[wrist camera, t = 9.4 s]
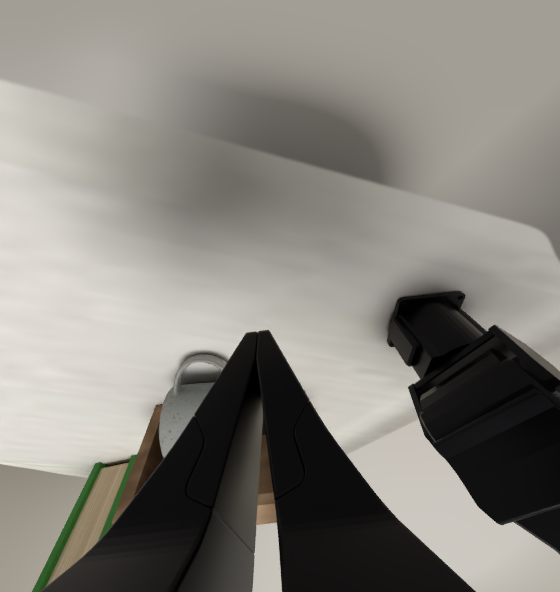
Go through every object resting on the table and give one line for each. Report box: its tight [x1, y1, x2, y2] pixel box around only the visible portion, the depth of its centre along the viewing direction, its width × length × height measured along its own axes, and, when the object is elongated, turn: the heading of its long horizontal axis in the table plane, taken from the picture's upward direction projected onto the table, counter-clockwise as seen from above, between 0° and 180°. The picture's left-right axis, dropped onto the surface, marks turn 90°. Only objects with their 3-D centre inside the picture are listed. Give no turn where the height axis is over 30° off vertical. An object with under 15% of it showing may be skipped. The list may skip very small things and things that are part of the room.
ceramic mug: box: [159, 354, 226, 457], centre depth 25 cm, size 11×8×8 cm
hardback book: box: [32, 455, 137, 592], centre depth 33 cm, size 18×7×24 cm, turn 15°
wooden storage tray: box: [112, 405, 277, 525], centre depth 28 cm, size 18×6×11 cm, turn 95°
